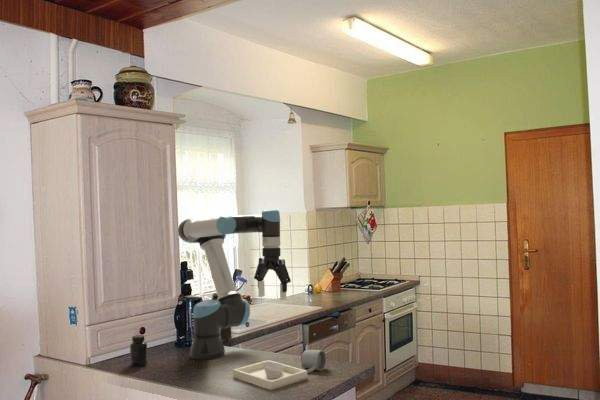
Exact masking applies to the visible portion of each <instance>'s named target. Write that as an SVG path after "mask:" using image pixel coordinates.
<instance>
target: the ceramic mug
mask: <svg viewBox="0 0 600 400" xmlns="http://www.w3.org/2000/svg"><path fill="white" fill-rule="evenodd" d="M300 362H301V365H300V369H303V370H306V371H307V374H309V373H312V372H314V371H323V370H324V369H325V367H326V364H327V355H326V353H325V350H322V349H304V351H302V353H301V357H300ZM304 368H306V369H304Z"/></svg>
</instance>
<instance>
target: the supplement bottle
mask: <svg viewBox="0 0 600 400" xmlns="http://www.w3.org/2000/svg"><path fill="white" fill-rule="evenodd" d="M131 339H132V340H131V341H132V342H131V343H130V345H129V354H130V355H129V356H130V357H129V359H130V366H131V367H133V368H141V367H145V366H147V365H148V343H147V342H146V341H145V335H143V334H136V335H132V336H131Z"/></svg>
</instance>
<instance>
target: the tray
mask: <svg viewBox="0 0 600 400" xmlns="http://www.w3.org/2000/svg"><path fill="white" fill-rule="evenodd" d="M268 361H270V362H274V363H278V364H282V372H281V375H280V377H279V378H274V379H268V378H267V375H266V373H265V367H266V365H267V363H268ZM303 369H304V368H303ZM303 369H301V368H298V367H295V366H292V365H288V364H284V363H281V362H277V361H274V360H270V359H268V360H264V361H259V362H256V363H251V364H249V365H246V366H241V367H238V368H233V369H232V377H233V379H237V380H239V381H243V382H245V383H249V384H251V383H252V384H251V385H254V384H255V385H254V386H257V385H258V386H257V387H260V386H261V387H260V388H263V389H266V390H270V391H274V390H277V389H281V388H282V387H283V388H284V387H286V386H290V385H293V384H296V383H298V382H302V381H305V380H307V379H308V373H307V371H306V370H307V369H304V370H303Z"/></svg>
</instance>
